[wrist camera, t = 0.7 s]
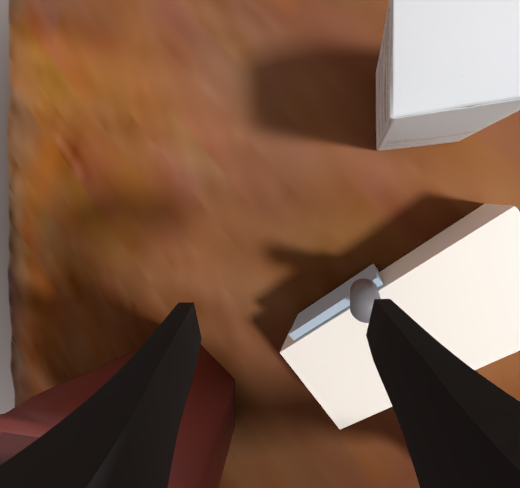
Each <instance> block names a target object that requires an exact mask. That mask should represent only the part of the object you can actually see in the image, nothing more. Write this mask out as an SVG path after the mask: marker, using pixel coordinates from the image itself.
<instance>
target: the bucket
mask: <svg viewBox="0 0 520 488" xmlns="http://www.w3.org/2000/svg"><path fill="white" fill-rule="evenodd" d="M138 350H139V349H138ZM138 350H136V351H134V352H132V353H129V354H127V355H125V356H123V357H120V358H118V359H116V360H114V361H111V362H109V363H107V364H105V365H102V366H100V367H98V368H96V369H93V370H91V371H89V372H87V373H84V374H82V375H80V376H78V377H75V378H73V379H71V380H69V381H66V382H64V383H62V384H60V385H57V386H55V387H53V388H51V389H48V390H46V391H44V392H42V393H39V394H37V395H35V396H33V397H31V398H29V399H28V400H26V401H24V402H23V403H21V404H20V405H18V406H17V407H15V408H13V409H12V410H10V411H9V412H7V413H5V414H0V465H1V464H3V463H4V462H6V461H7V460H9V459H10V458H12V457H13V456H14V455H16V454H17V453H19V452H20V451H22V450H23V449H24V448H26V447H27V446H28V445H30V444H31V443H33V442H34V441H35V440H37V439H38V438H39V437H41V436H42V435H43V434H45V433H46V432H47V431H49V430H50V429H51V428H53V427H54V426H55V425H57V424H58V423H59V422H60V421H62V420H63V419H64V418H65V417H67V416H68V415H69V414H70V413H72V412H73V411H74V410H75V409H76V408H78V407H79V406H80V405H81V404H82V403H84V402H85V401H86V400H87V399H88V398H89V397H91V396H92V395H93V394H94V393H95V392H96V391H97V390H99V389H100V388H101V387H102V386H103V385H104V384H105V383H106V382H107V381H108V380H109V379H110V378H111V377H113V376H114V375H115V374H116V373H117V372H118V371H119V370H120V369H121V368H122V367H123V366H124V365H125V364H126V363H127V361H128V360H129V359H130V358H131V357H132V356H133V355H134V354H135V353H136V352H137V351H138ZM234 427H235V379H234V378H233V377H232V376H231V375H230V374H229V373H228V372H227V371H226V370H225V369H224V368H223V367H222V366H221V365H220V364H219V363H218V362H217V361H216V360H215V359H214V358H213V357H212V356H211V355H210V354H209V353H208V352H207V351H206V350H205V349H204V348H203V347H202V345H201V344H200V349H199V355H198V361H197V365H196V369H195V372H194V376H193V380H192V383H191V387H190V390H189V394H188V397H187V401H186V404H185V408H184V411H183V415H182V418H181V422H180V426H179V430H178V434H177V440H176V445H175V450H174V455H173V460H172V466H171V471H170V477H169V483H168V488H219V484H220V480H221V476H222V473H223V469H224V465H225V461H226V457H227V454H228V450H229V446H230V442H231V438H232V434H233V431H234Z"/></svg>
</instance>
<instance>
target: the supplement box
mask: <svg viewBox="0 0 520 488" xmlns="http://www.w3.org/2000/svg"><path fill="white" fill-rule="evenodd" d="M519 110H520V0H389V5H388V10H387V16H386V22H385V27H384V34H383V39H382V44H381V49H380V54H379V59H378V64H377V69H376V148H377V151H380V150H391V149H400V148H409V147H417V146H425V145H434V144H442V143H450V142H458V141H460V140H462V139H464V138H466V137H468V136H470V135H472V134H474V133H476V132H478V131H480V130H482V129H483V128H485V127H487V126H489V125H491V124H493V123H495V122H497V121H499V120H501V119H503V118H505V117H507V116H509V115H511V114H513V113H515V112H517V111H519Z"/></svg>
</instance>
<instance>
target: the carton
mask: <svg viewBox="0 0 520 488" xmlns="http://www.w3.org/2000/svg"><path fill="white" fill-rule="evenodd" d="M379 273H380V276H381V279H382V282H383V285H381V286H380V287H378V291H379V294H380V298H381V299H391V300H392V301H393V302H394V303H395V304H397V305H398V306H399V307H400V308H401V309H402V310H403V311H404V312H405V313H406V314H408V315H409V316H410V317H411V318H412V319H413V320H414V321H415V322H416V323H418V324H419V325H420V326H421V327H422V328H423V329H424V330H425V331H427V332H428V333H429V334H430V335H431V336H432V337H434V338H435V339H436V340H437V341H438V342H439V343H441V344H442V345H443V346H444V347H445V348H447V349H448V350H449V351H450V352H452V353H453V354H454V355H455V356H457V357H458V358H459V359H460V360H462V361H463V362H464V363H466V364H467V365H468V366H469V367H471V368H472V369H473V370H476V369H478V368H481V367H483V366H485V365H487V364H490V363H492V362H494V361H497V360H499V359H501V358H503V357H506V356H508V355H510V354H512V353H515V352H517V351H519V350H520V211H519V210H518V209H517V208H516V207H515V206H508V205H495V204H483V205H482V206H480V207H479V208H477V209H476V210H474V211H473V212H471V213H469V214H468V215H466V216H465V217H463V218H462V219H460V220H459V221H457V222H456V223H454V224H453V225H451V226H449V227H448V228H446V229H445V230H443V231H442V232H440V233H439V234H437V235H436V236H434V237H433V238H431V239H430V240H428V241H426V242H425V243H423V244H422V245H420V246H419V247H417V248H416V249H414V250H413V251H411V252H410V253H408V254H406V255H405V256H403V257H402V258H400V259H399V260H397V261H396V262H394V263H393V264H391V265H390V266H388V267H387V268H385V269H383V270H382V271H380V272H379ZM368 325H369V323H363V322H360V321H358V320H357V319H355V318H354V317H353V315H352V314H351V311H350V306H348V307H346V308H345V309H343V310H342V311H340V312H338V313H337V314H335V315H334V316H332V317H331V318H329V319H327V320H326V321H324V322H323V323H321V324H319V325H318V326H316V327H315V328H313V329H311V330H310V331H308V332H307V333H305V334H304V335H302V336H300V337H299V338H297V339H296V340H294V341H293V339H292V338H291V337H290V336H289V333H290V331H289V333H288V335H287V338H286V340H285V342H284V344H283V346H282V349H281V351H280V354H281V355H282V356H283V358H284V359H285V360H286V361H287V363H288V364H289V365H290V366H291V368H292V369H293V370H294V372H295V373H296V374H297V375H298V377H299V378H300V379H301V381H302V382H303V383H304V384H305V386H306V387H307V388H308V390H309V391H310V392H311V393H312V395H313V396H314V397H315V398H316V400H317V401H318V402H319V404H320V405H321V406H322V407H323V409H324V410H325V411H326V413H327V414H328V415H329V416H330V418H331V419H332V420H333V422H334V423H335V424H336V425H337V427H338V428H339V429H343V428H345V427H347V426H349V425H352V424H354V423H356V422H358V421H361V420H363V419H365V418H368V417H370V416H372V415H374V414H377V413H379V412H381V411H383V410H386V409H388V408H390V407H392V404H391V402H390V399H389V397H388V395H387V392H386V390H385V387H384V385H383V383H382V380H381V378H380V376H379V373H378V371H377V368H376V366H375V363H374V361H373V358H372V355H371V351H370V348H369V344H368V340H367V337H366V333H367V329H368Z"/></svg>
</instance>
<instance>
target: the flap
mask: <svg viewBox="0 0 520 488" xmlns="http://www.w3.org/2000/svg"><path fill="white" fill-rule="evenodd" d="M381 285H383V282H382V279H381V276H380V273H379V270H378V269H377V267H376V266H375V265H374V264H372V265H370V266H369V267H367V268H366V269H364V270H363V271H361V272H360V273H358V274H357V275H355V276H354V277H352V278H351V279H349V280H348V281H346V282H345V283H343V284H342V285H340V286H339V287H337V288H336V289H334V290H333V291H331V292H330V293H328V294H327V295H325V296H324V297H322V298H321V299H319V300H318V301H316V302H315V303H313V304H312V305H311V306H309V307H308V308H306V309H305V310H303V311H302V312H300V313H299V314H298V315H297V317H296V319H295V321H294V324H293V326H292V328H291V330H290V333H289V336H290V337H291V338H292V339H293V341H294V340H296V339H297V338H299V337H300V336H302V335H304V334H305V333H307V332H308V331H310V330H311V329H313V328H315V327H316V326H318V325H319V324H321V323H323V322H324V321H326V320H327V319H329V318H331V317H332V316H334V315H335V314H337V313H338V312H340V311H342V310H343V309H345V308H346V307H348V306H350V311H351V314H352V315H353V317H354V318H355V319H357V320H358V321H360V322H363V323H369V320H370V316H371V312H372V307H373V303H374V299H381V298H380V294H379V291H378V287H380V286H381Z"/></svg>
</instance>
